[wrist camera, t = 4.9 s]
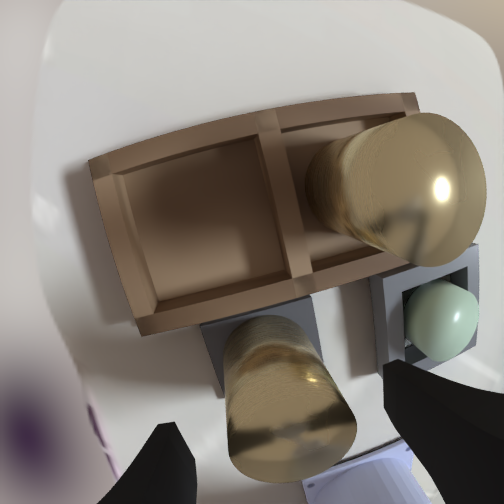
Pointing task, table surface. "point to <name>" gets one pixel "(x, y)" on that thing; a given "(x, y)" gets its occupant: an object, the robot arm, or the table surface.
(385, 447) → the robot arm
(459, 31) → the table surface
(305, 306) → the mat
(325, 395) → the cylinder
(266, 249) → the brown wooden tray
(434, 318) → the button
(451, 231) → the brass round-topped piece
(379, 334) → the button housing
